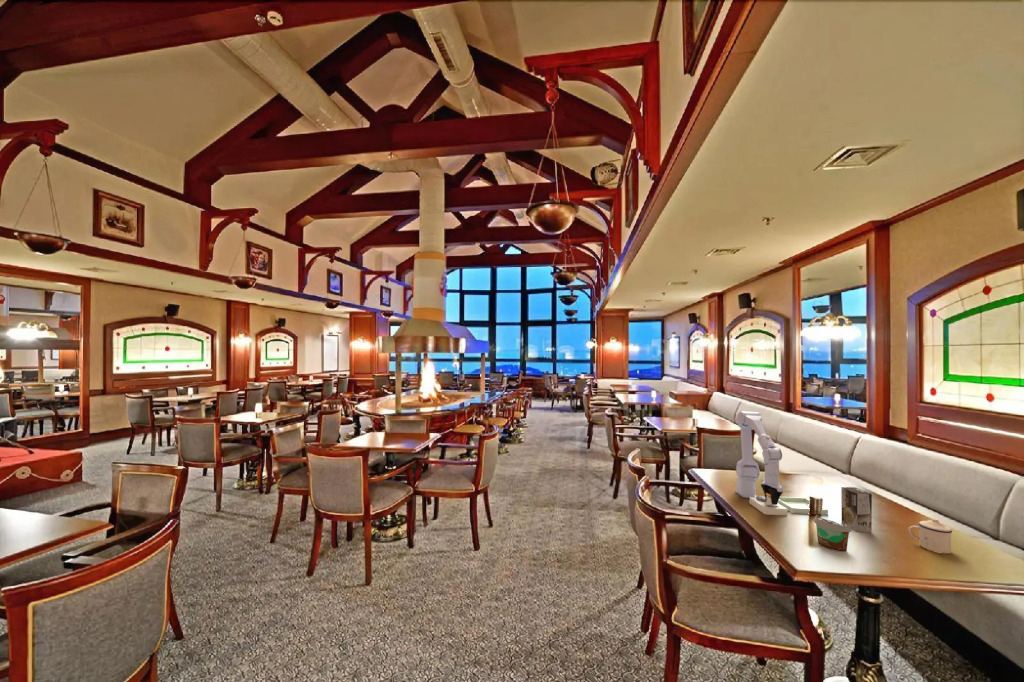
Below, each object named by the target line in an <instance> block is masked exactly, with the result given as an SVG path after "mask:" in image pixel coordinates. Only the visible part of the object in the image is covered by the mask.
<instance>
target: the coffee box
mask: <svg viewBox="0 0 1024 682" xmlns="http://www.w3.org/2000/svg"><path fill="white" fill-rule="evenodd" d="M840 494H841V495H840V496H841V525H843V526H850V528H851V530H854V531H856V532H861V533H863V532H865V533H872V532H873V531H872V528H873V527H872V525H873V523H872V520H873V519H872V518H873V516H872V514H873V512H872V511H873V510H872V509H873V507H872V506H873V502H872V501H873V496H872V495H873V494H872V493H871V492H867V491H865V490H863V489H860V488H859V487H858V488H857V487H854V486H853V487H852V486H847V487H846V486H845V487H841V493H840Z"/></svg>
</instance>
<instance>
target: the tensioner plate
mask: <svg viewBox="0 0 1024 682" xmlns="http://www.w3.org/2000/svg"><path fill="white" fill-rule="evenodd" d="M766 502H767V500H766V498H765V495H756V498H753V497H750V498H749V504H750V505H752V507H754V508H756V510H758V511H760V512H761V513H762V514H764V515H769V516H771V515H772V516H788V509H787V508H785V507H783V506H782V505H780V504H779V503H777V505H776V507H768V506H767V505H766Z"/></svg>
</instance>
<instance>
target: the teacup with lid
mask: <svg viewBox="0 0 1024 682" xmlns="http://www.w3.org/2000/svg"><path fill="white" fill-rule="evenodd" d="M918 525H919V526H918ZM918 525H911V526H909V527H908V532H909V535H910V536H911V537H912V538H914V539H916V540H919V546H920V545H921V546H922V547H925V548H927V549H930V550H933V551H937V552H942V553H950V552H951V553H952V532H953V530H952V528H951V527H949V526H948V525H946V524H944V523H942V522H940V520H939V519H938V518H933V517H932V518H931V519H929V520H922V521H921V520H920V521H919V522H918ZM912 529H918V530H919V537H918V536H916V535H914V534H913V533H912V532H913V531H912ZM921 546H920V547H921ZM922 547H921V548H922ZM951 553H950V554H951Z"/></svg>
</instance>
